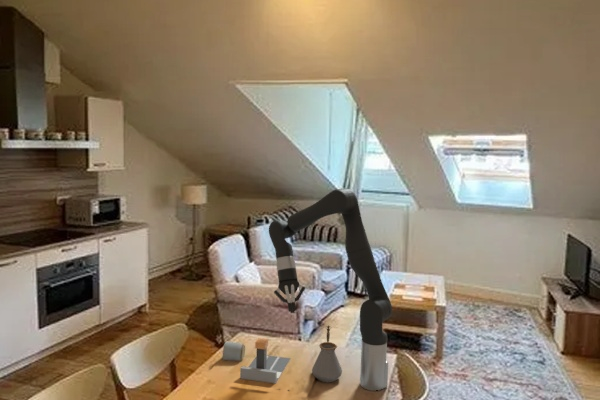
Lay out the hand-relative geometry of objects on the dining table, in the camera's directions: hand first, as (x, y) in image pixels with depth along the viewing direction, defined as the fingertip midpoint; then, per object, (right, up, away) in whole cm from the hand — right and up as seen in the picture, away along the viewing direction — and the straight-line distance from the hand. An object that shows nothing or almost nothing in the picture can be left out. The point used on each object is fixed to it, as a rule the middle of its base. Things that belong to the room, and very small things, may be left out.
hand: (292, 312), depth 195 cm
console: (-10, -22, -1) cm, 25 cm away
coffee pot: (+13, -23, 0) cm, 27 cm away
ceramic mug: (-24, -21, +9) cm, 33 cm away
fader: (-12, -22, -7) cm, 26 cm away
